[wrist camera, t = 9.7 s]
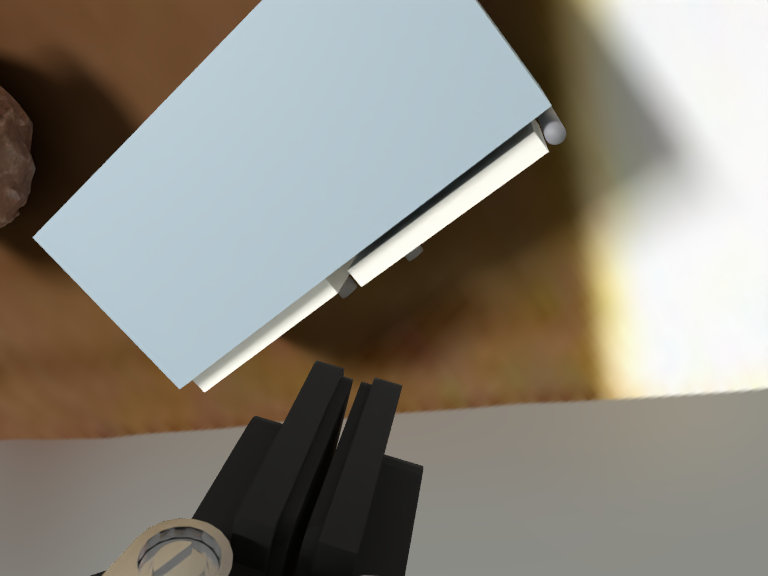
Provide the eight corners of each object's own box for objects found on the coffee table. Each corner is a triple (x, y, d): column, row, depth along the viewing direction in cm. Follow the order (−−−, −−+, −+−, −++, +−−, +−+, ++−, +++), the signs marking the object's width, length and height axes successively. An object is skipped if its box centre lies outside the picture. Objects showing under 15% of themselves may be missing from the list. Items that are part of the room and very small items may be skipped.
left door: (544, 95, 32) (556, 117, 25) (571, 134, 32) (592, 166, 25) (376, 223, 36) (344, 274, 29) (403, 255, 36) (378, 314, 29)
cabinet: (414, -88, 30) (384, -126, 22) (561, 115, 32) (580, 145, 25) (127, 193, 38) (32, 237, 30) (262, 340, 40) (205, 416, 33)
